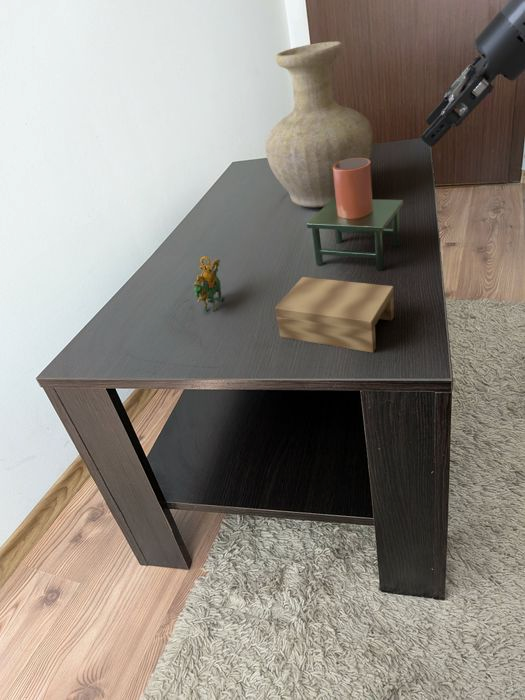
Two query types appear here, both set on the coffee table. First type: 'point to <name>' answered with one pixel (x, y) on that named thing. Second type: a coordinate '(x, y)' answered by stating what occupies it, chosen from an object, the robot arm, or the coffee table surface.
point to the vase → (314, 128)
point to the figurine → (208, 283)
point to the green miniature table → (358, 229)
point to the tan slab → (335, 312)
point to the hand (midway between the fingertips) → (428, 133)
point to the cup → (353, 188)
